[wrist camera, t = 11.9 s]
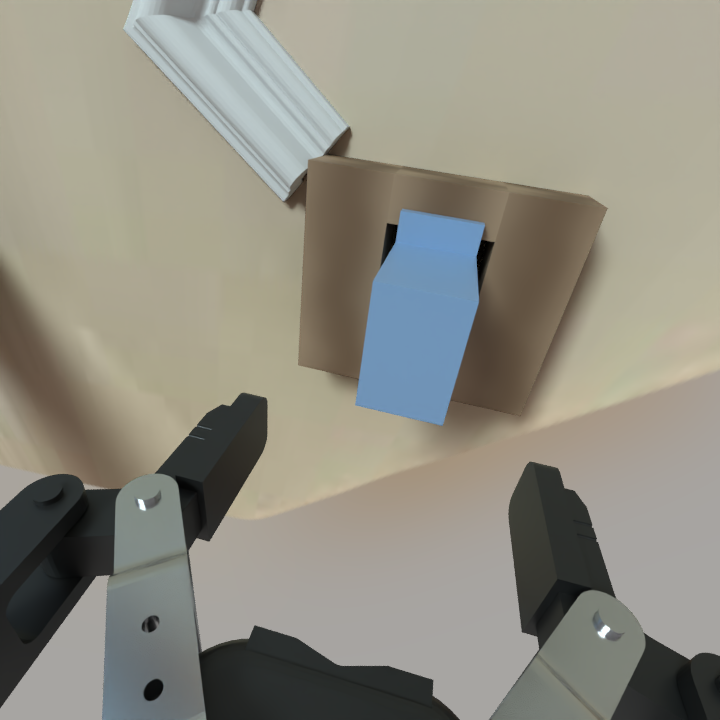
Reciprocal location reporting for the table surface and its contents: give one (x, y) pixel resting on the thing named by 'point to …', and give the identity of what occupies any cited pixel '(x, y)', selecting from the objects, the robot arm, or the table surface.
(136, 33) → the molding
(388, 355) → the blue block
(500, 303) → the tan square ring
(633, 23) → the table surface
